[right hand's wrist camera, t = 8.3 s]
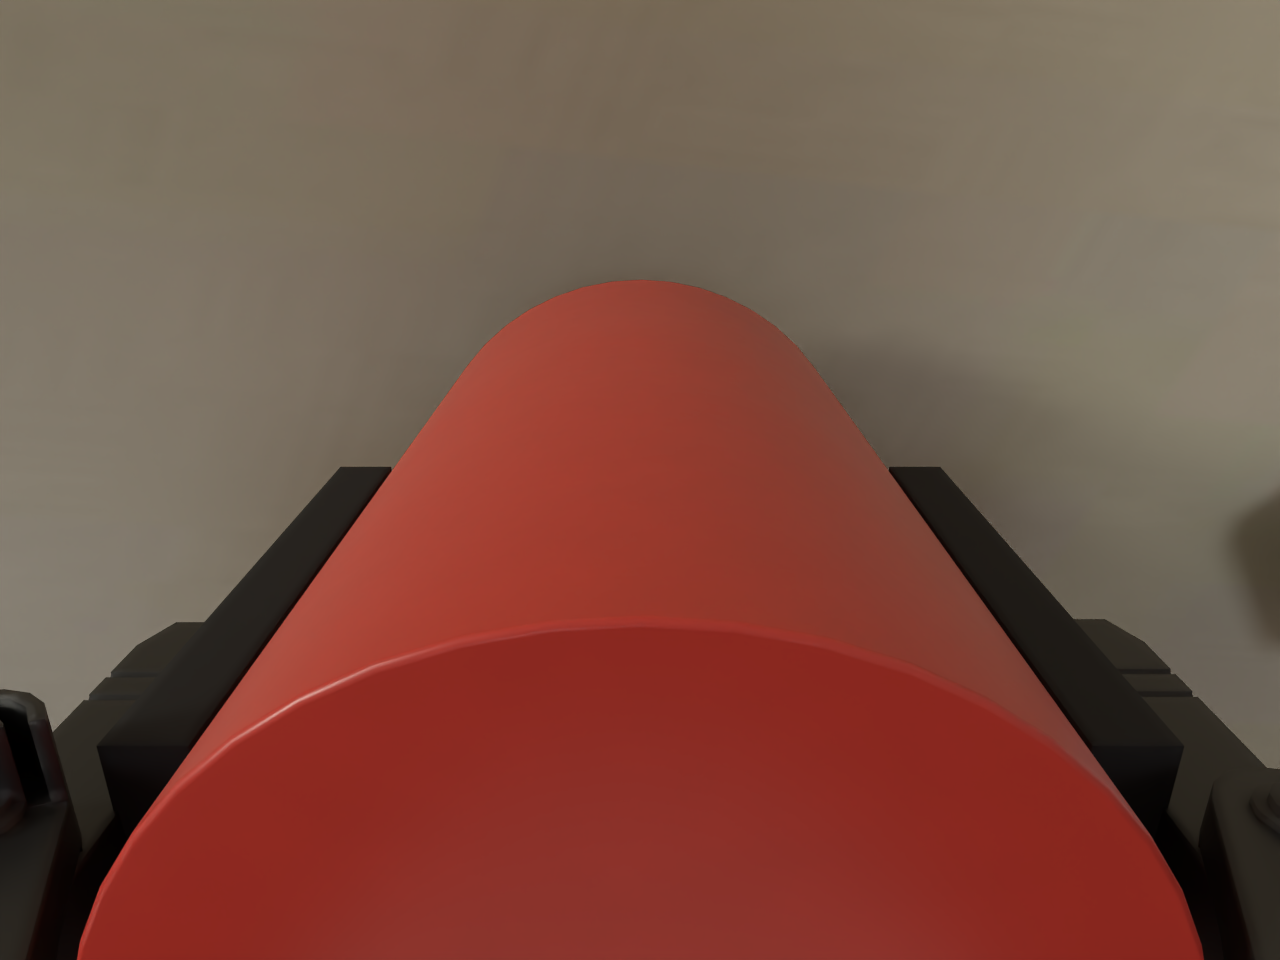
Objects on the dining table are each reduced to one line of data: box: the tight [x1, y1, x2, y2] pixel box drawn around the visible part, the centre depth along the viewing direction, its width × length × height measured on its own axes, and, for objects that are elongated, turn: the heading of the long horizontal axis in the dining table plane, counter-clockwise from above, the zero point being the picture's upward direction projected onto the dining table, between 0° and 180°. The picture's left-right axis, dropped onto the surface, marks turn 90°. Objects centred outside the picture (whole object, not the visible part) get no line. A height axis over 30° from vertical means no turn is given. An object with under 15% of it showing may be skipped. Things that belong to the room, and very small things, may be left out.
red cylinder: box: [77, 280, 1204, 960], centre depth 11 cm, size 7×7×11 cm
